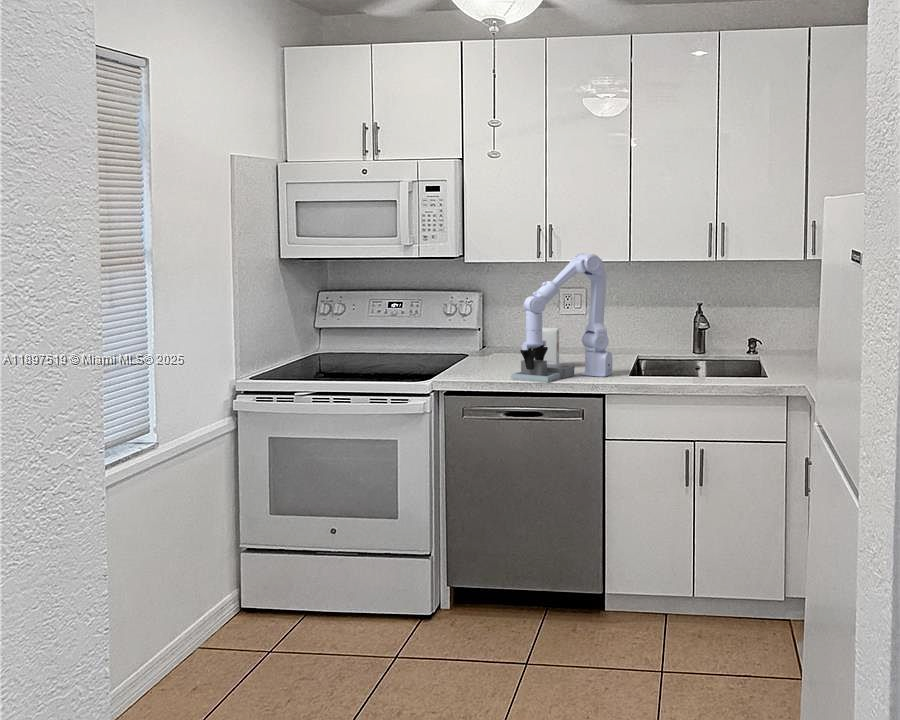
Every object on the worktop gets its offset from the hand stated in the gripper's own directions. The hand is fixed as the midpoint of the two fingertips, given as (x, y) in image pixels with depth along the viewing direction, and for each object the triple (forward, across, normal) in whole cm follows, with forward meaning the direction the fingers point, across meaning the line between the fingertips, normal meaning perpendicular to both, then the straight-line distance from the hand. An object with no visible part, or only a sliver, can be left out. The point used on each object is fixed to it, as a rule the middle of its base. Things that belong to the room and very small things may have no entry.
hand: (534, 368), depth 409 cm
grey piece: (+4, -28, -10) cm, 29 cm away
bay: (+4, -10, +2) cm, 11 cm away
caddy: (+3, 0, 0) cm, 3 cm away
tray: (+4, 0, 0) cm, 4 cm away
